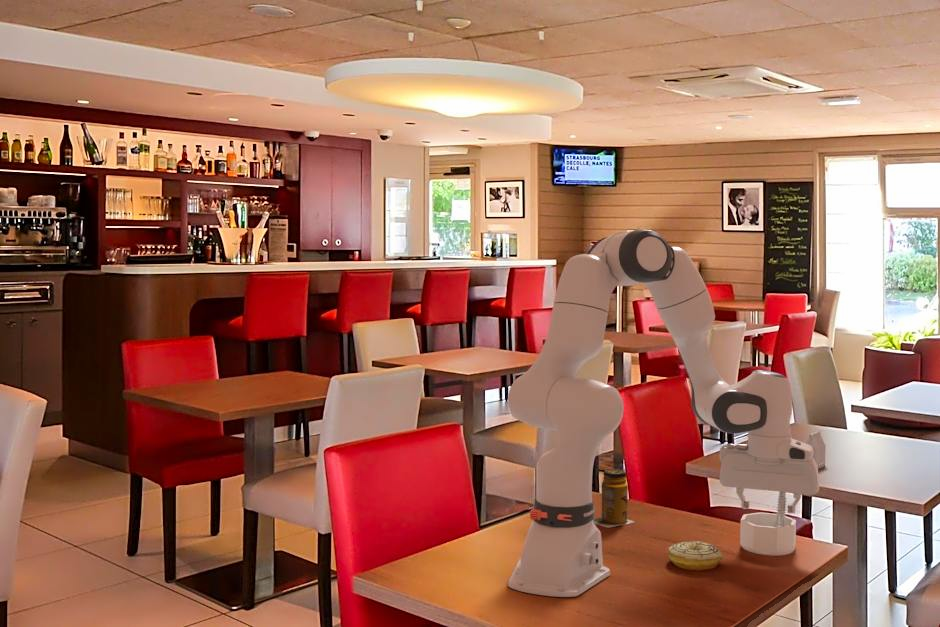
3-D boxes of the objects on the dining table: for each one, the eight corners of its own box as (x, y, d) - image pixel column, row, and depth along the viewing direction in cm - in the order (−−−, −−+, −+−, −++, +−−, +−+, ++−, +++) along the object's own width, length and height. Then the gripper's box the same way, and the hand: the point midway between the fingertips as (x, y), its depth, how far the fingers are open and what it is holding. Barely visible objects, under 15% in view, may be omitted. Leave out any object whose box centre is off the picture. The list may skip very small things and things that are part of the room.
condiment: (635, 522, 224) (635, 472, 223) (608, 528, 220) (608, 477, 219) (614, 515, 230) (614, 466, 229) (587, 521, 226) (587, 471, 225)
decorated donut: (731, 563, 196) (731, 545, 196) (705, 577, 188) (705, 558, 188) (686, 552, 203) (686, 534, 203) (659, 564, 195) (659, 546, 195)
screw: (762, 542, 206) (780, 540, 207) (777, 548, 201) (795, 547, 203) (766, 482, 205) (784, 481, 207) (781, 487, 200) (800, 486, 202)
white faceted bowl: (792, 558, 198) (792, 529, 198) (737, 551, 202) (738, 524, 202) (796, 543, 208) (797, 516, 208) (745, 537, 212) (745, 510, 212)
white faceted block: (825, 465, 280) (825, 431, 279) (816, 469, 275) (816, 435, 274) (812, 463, 282) (813, 430, 282) (803, 468, 277) (804, 433, 277)
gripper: (717, 445, 205) (716, 509, 206) (818, 453, 197) (817, 519, 198) (721, 440, 211) (720, 501, 212) (820, 447, 202) (819, 511, 203)
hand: (768, 510), depth 205 cm, fingers open, 8 cm apart
